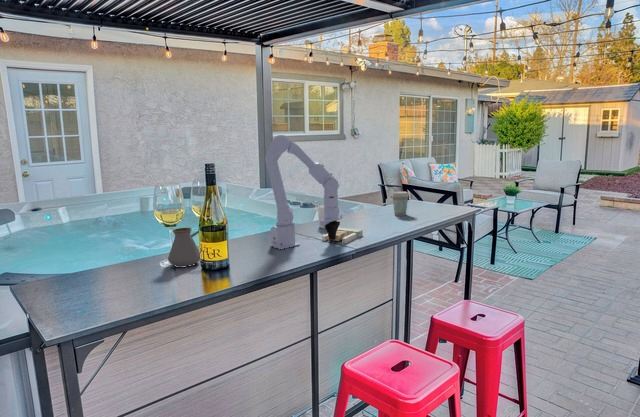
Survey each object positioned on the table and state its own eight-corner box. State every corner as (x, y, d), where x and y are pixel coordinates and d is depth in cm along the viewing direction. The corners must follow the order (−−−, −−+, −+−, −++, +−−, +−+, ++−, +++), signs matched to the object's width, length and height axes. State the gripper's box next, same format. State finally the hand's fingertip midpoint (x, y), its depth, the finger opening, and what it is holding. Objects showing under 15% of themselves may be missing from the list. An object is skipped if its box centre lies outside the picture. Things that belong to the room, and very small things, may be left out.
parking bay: (346, 243, 172) (346, 237, 172) (321, 240, 178) (321, 234, 178) (362, 235, 184) (362, 229, 184) (338, 232, 190) (338, 227, 190)
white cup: (315, 228, 201) (314, 207, 199) (322, 224, 208) (322, 204, 206) (330, 229, 198) (329, 208, 196) (337, 225, 204) (337, 205, 203)
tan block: (338, 242, 174) (338, 235, 173) (328, 241, 177) (327, 234, 176) (347, 238, 180) (346, 231, 179) (336, 237, 182) (336, 230, 182)
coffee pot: (175, 272, 145) (170, 229, 142) (164, 264, 154) (159, 223, 151) (232, 258, 158) (229, 219, 155) (219, 252, 167) (216, 214, 164)
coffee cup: (388, 214, 226) (388, 192, 223) (402, 212, 229) (402, 190, 227) (398, 217, 218) (398, 194, 216) (411, 215, 222) (412, 192, 219)
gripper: (330, 210, 163) (331, 244, 166) (348, 204, 175) (349, 236, 178) (314, 209, 167) (316, 242, 170) (333, 203, 179) (334, 234, 182)
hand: (332, 239), depth 174 cm, fingers closed
